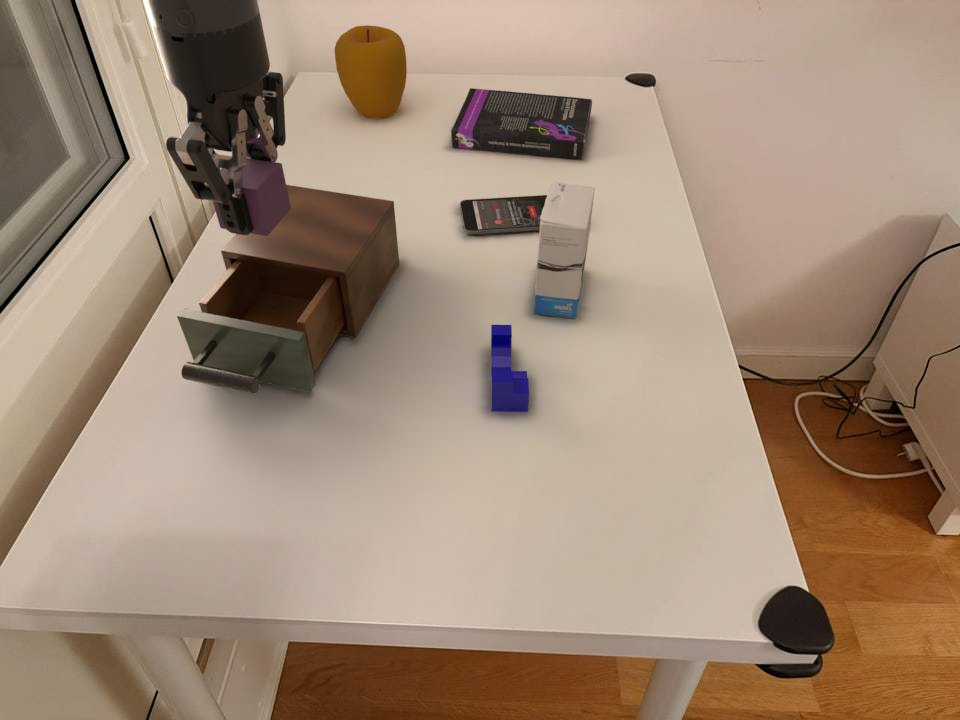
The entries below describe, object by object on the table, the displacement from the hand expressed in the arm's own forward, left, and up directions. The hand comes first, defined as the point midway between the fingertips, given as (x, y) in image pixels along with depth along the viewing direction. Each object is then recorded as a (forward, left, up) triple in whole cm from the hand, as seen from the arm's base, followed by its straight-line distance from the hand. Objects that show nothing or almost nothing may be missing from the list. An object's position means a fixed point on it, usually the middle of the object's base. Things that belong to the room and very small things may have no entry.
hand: (255, 215), depth 63 cm
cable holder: (+14, -18, -17) cm, 28 cm away
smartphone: (+36, +2, -17) cm, 40 cm away
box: (+53, +18, -17) cm, 58 cm away
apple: (+41, +39, -17) cm, 59 cm away
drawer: (-2, 0, -16) cm, 16 cm away
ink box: (+28, -12, -17) cm, 35 cm away
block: (0, 0, 0) cm, 0 cm away
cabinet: (+9, +7, -17) cm, 20 cm away
